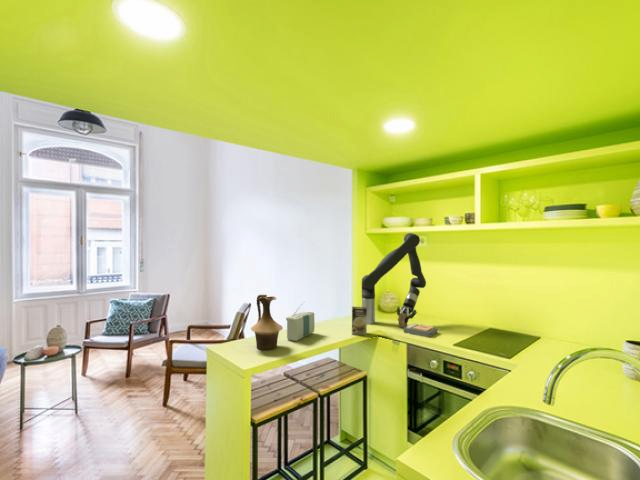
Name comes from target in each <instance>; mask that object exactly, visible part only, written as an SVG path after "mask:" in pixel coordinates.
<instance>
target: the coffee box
mask: <svg viewBox="0 0 640 480" xmlns="http://www.w3.org/2000/svg"><path fill="white" fill-rule="evenodd" d="M367 327H368V324H367V308H366V307H362V306H351V335H353V336H354V335H355V336H367V335H368V334H367V333H368V331H367V329H368V328H367Z"/></svg>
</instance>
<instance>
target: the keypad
mask: <svg viewBox="0 0 640 480" xmlns="http://www.w3.org/2000/svg"><path fill="white" fill-rule="evenodd" d="M418 325H419V324H418V323H415V322H414V323H412V324H410V325H407V327H404V329H403V333H404V334H405V333H406V334H408V333H409V335H414V336H419V337H425V338H430V337H432V336H434V335H436V334H438V328H437V327H434V329H432V330H430V331H428V332H425V331H420V330H415V329H413V327H416V326H418Z"/></svg>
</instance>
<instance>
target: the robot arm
mask: <svg viewBox="0 0 640 480" xmlns="http://www.w3.org/2000/svg"><path fill="white" fill-rule="evenodd" d="M420 242H421V238H420V236H419V235H418V234H415V233H412V232H411V233H410V232H409V233H406V234H405V235H404V237H403V243H402V244H401V245H400V246H398V247H396V249H394V250H392V251H390V252H389V253H388V254H386V255H385V256H384V258H382V260H381V261H379V263H378V264H377V265H376V267H375V269H373V270H372V271H371V272H370V273H369V274H365V275H364V276H363V277H362V279H361V307H366V308H367V325H372V324H376V289H375V288H376V287H375V285H377V283H378V282H379V281H380V280H381V279H382V278H383V277H384V276H385V275H386V274H388V273H389V272H390V271H392V269H393V268H395V267H396V266H397V265H398V264H399V262H401V261H402V260H403V259H404V258H405V257H406V255H408V256H407V257H408V260H409V266H410V267H409V268H410V272H411V275H412V276H415V277H413V278H411V279H410V283H409V284H410V285H409V291H408V293H407V295H406V296H405V299H404V301H403V303H402V306H401V307H397V311H396V315H397V316H398V318H397V321H398V322H399V314H401V313H403V314H407V317H406V319H405V321H404V322H405V323H407V324H408V322H409V320H410V319H411V320H412V319H413V318H414V317H415V315H417V313H418V312H417V310H416V309H415V306H416V304H417V302H418V299H419V296H420V292H421V291H420V289H424V288H425V287H426V286H427V281H426V278H425V276H424V273H423V272H422V265H421V261H420V259H419V255H418V253H417V247H418V246H419V244H420Z"/></svg>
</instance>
